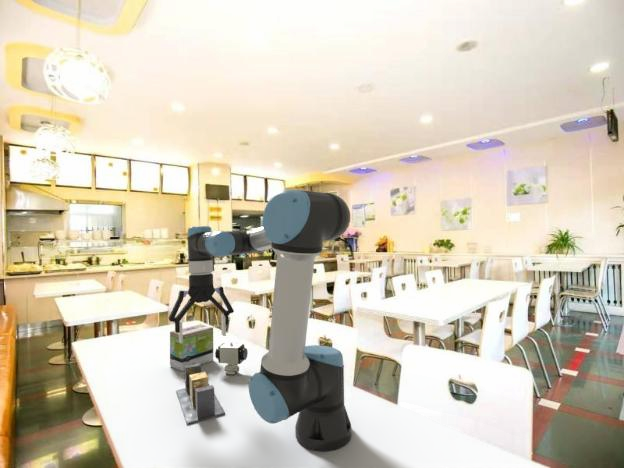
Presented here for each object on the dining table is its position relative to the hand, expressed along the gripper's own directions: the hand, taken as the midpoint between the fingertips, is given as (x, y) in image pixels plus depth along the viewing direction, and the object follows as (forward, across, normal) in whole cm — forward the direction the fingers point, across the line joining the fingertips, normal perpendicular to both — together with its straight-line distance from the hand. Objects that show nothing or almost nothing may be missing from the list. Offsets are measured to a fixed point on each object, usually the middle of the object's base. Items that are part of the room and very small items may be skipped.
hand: (203, 338), depth 112 cm
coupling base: (+21, +2, -1) cm, 21 cm away
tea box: (+21, -3, -38) cm, 43 cm away
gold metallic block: (+20, +2, -1) cm, 20 cm away
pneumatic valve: (+21, -15, -19) cm, 32 cm away
